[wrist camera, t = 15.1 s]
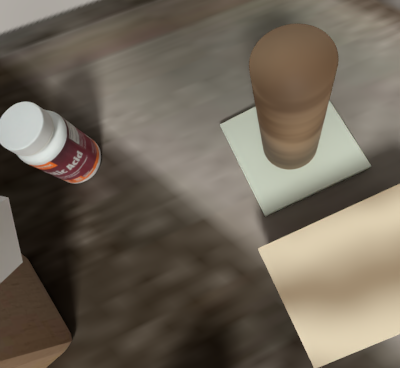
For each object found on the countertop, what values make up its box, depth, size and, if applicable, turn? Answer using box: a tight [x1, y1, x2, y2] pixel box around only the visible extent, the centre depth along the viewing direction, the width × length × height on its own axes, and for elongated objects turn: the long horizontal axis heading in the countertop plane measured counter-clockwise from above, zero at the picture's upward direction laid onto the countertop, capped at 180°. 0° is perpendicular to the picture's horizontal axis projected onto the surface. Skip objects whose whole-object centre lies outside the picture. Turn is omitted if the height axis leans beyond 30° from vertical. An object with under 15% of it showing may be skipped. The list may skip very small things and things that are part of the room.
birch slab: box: [258, 184, 400, 368], centre depth 24 cm, size 8×12×4 cm, turn 113°
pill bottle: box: [0, 101, 101, 184], centre depth 31 cm, size 5×5×8 cm
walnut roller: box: [249, 24, 338, 170], centre depth 24 cm, size 4×4×12 cm
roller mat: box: [220, 100, 371, 217], centre depth 30 cm, size 9×9×1 cm
